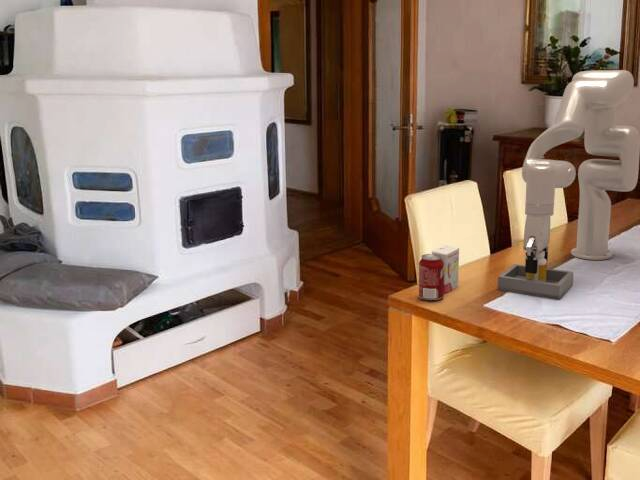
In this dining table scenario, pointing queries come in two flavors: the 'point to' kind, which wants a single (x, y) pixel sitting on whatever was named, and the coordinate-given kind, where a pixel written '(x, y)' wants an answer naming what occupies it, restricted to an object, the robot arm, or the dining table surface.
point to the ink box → (449, 266)
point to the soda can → (431, 277)
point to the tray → (536, 282)
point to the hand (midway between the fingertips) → (536, 268)
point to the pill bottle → (539, 268)
